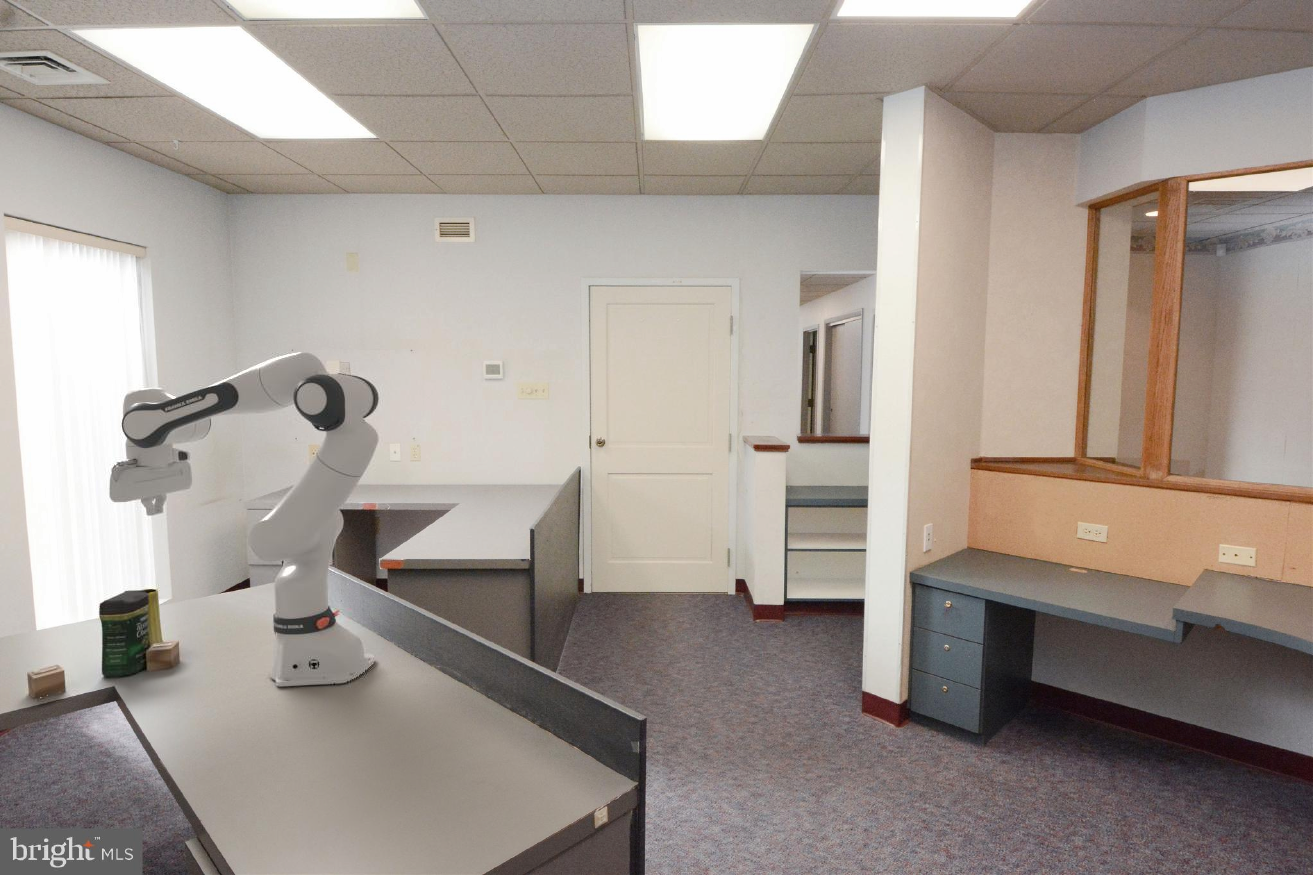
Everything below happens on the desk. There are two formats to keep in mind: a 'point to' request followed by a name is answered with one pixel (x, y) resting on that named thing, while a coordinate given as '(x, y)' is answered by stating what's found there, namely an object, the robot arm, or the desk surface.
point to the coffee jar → (124, 633)
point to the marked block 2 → (162, 656)
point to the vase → (154, 617)
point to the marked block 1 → (46, 681)
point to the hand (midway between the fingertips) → (155, 514)
